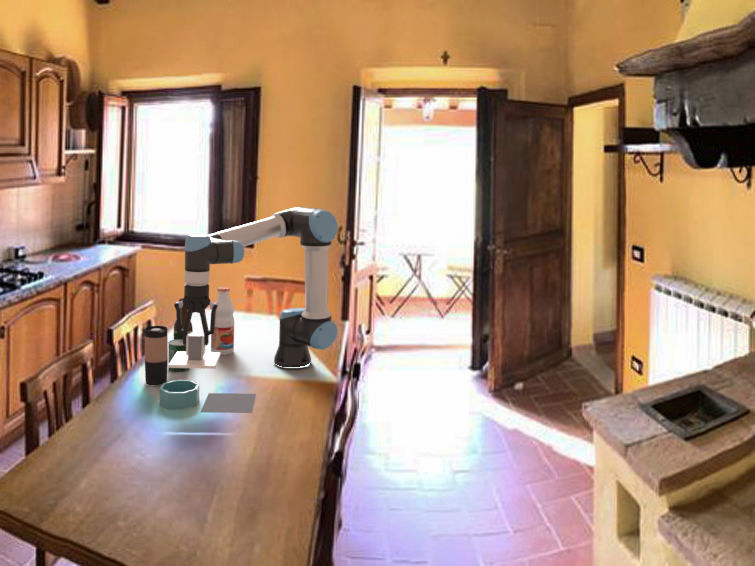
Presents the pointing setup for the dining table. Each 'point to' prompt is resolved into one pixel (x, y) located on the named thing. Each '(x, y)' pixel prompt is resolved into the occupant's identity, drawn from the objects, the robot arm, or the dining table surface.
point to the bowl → (179, 394)
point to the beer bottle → (184, 316)
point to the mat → (229, 403)
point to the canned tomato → (173, 348)
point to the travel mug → (156, 355)
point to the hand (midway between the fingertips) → (195, 354)
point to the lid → (195, 355)
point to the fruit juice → (223, 324)
